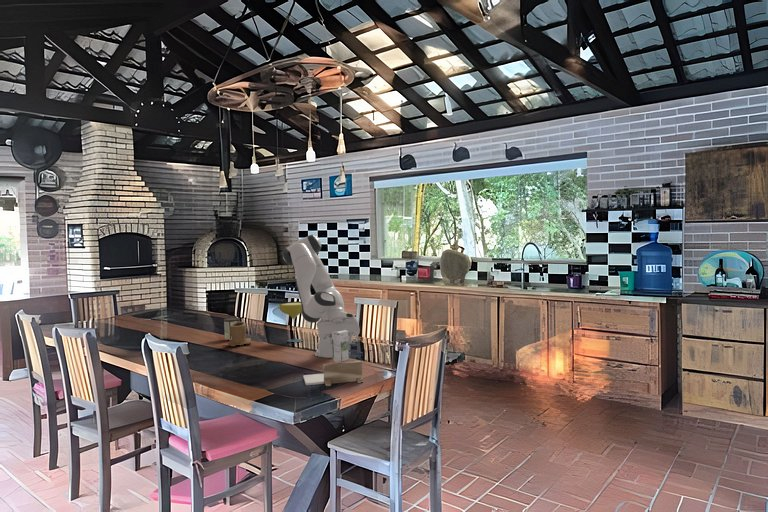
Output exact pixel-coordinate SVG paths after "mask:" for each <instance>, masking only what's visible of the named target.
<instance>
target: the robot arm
mask: <svg viewBox="0 0 768 512" xmlns="http://www.w3.org/2000/svg"><path fill="white" fill-rule="evenodd" d="M321 250H322V242H321V241H320V238H318V236H316V235H315V234H310V235H309V234H308V235H307V236H306V237H303V238H301V239H299V240H297V241H296V242H294V243H292V244H290V245H289V246H286V247H285V248H283V250H282V252H281V254H282V258H283V260H284V262H285V263H286V264H287V265H288V266H293V267H294V272H295V278H296V279H295V280H296V288H297V293H298V296H299V300H300V302H301V305H302V313H301V316H302V317H303V319H304V320H305V321H306V322H308V323H313V324H314V323H315V324H316V328H317V331H318V332H317V333H318V334H317V337H318V338H320V339H319V341H318V342H317V343H316V347H317V349H316V352H315V354H314V357H317V356H318V358H327V359H328V358H331V359H333V349H332V332H333V331H337V330H346V331H348V340H349V344H352V342H353V341H352V340H353V337H354V336H359V335H360V331H361V329H360V325H359V323H358V322H359V321H358V320H357V319H356V315H355V314H354V313H349V312H346V310H345V302H344V298H343V295H342V293H340V291H339V290H337V288H336V286H335V284H334V282H333V280H332V278H331V276H330V274H329V273H328V271H327V268H326V267H325V265H324V263H323V261H322V260H321V258H320V257H319V253H320V251H321ZM311 286H312V287H313V290H314V291H315V293H314V294H313V296H312V292H311Z"/></svg>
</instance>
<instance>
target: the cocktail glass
mask: <svg viewBox="0 0 768 512" xmlns="http://www.w3.org/2000/svg"><path fill="white" fill-rule="evenodd" d="M278 306H279V307H278V309H279V310H280V312H281V313H284V314H285V315H287V316H289V317H291V319H292V320H293V338H292V339H287V341H289V342H299V343H301V342H300V341H302V342H303V341H304V340H303V339H299V338H296V329H295V328H296V326H295V325H296V324H295V319H296V318H297V316H299V315H300V314H302V305H301V301H285V302H280V303H279V305H278Z"/></svg>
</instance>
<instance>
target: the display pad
mask: <svg viewBox="0 0 768 512" xmlns="http://www.w3.org/2000/svg"><path fill="white" fill-rule="evenodd" d="M302 378H303V380H304V384H305V386H313V385H315V386H316V385H325V384H324V373H314V374H305V375H304V374H303V377H302Z"/></svg>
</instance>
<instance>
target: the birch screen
mask: <svg viewBox="0 0 768 512" xmlns="http://www.w3.org/2000/svg"><path fill="white" fill-rule="evenodd" d="M322 367H323V374H324V384H323V385H325V386H326V387H330V386H332V384H341V383H351V382H353V383H354V382H357V383H358V384H360V383H361V382H363V383H364V379H363V362H362V360H358V361H357V360H356V361H344V362H334V363H332V362H331V363H324V364H323V365H322Z"/></svg>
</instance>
